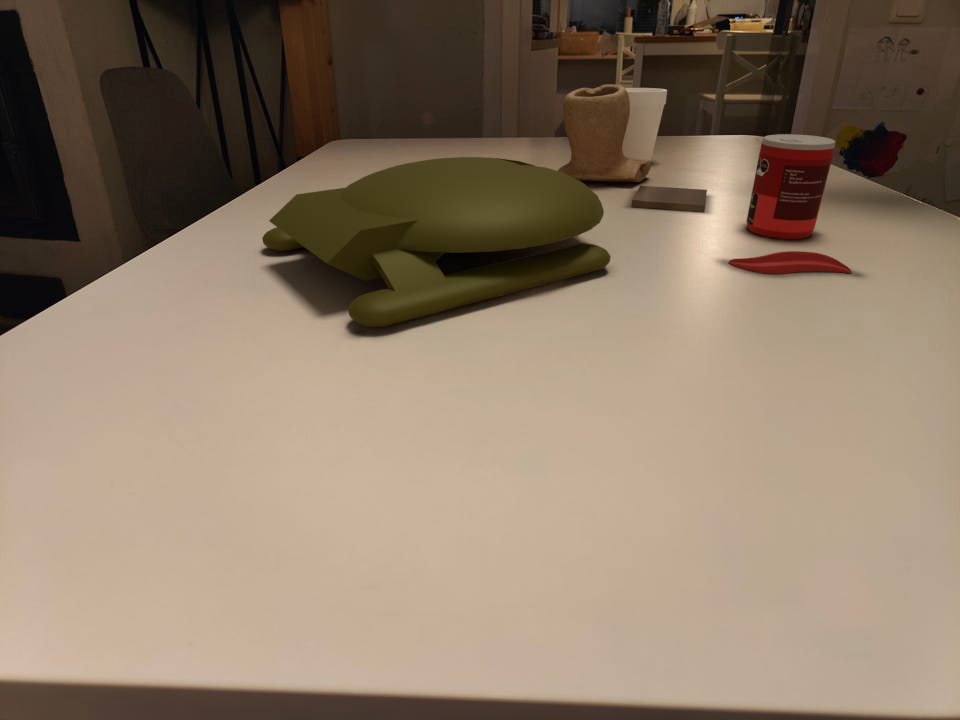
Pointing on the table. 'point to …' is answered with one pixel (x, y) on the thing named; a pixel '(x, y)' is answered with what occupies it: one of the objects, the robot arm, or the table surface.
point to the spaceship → (443, 232)
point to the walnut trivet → (670, 198)
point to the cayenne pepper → (791, 263)
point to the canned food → (789, 185)
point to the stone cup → (600, 136)
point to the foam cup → (643, 122)
